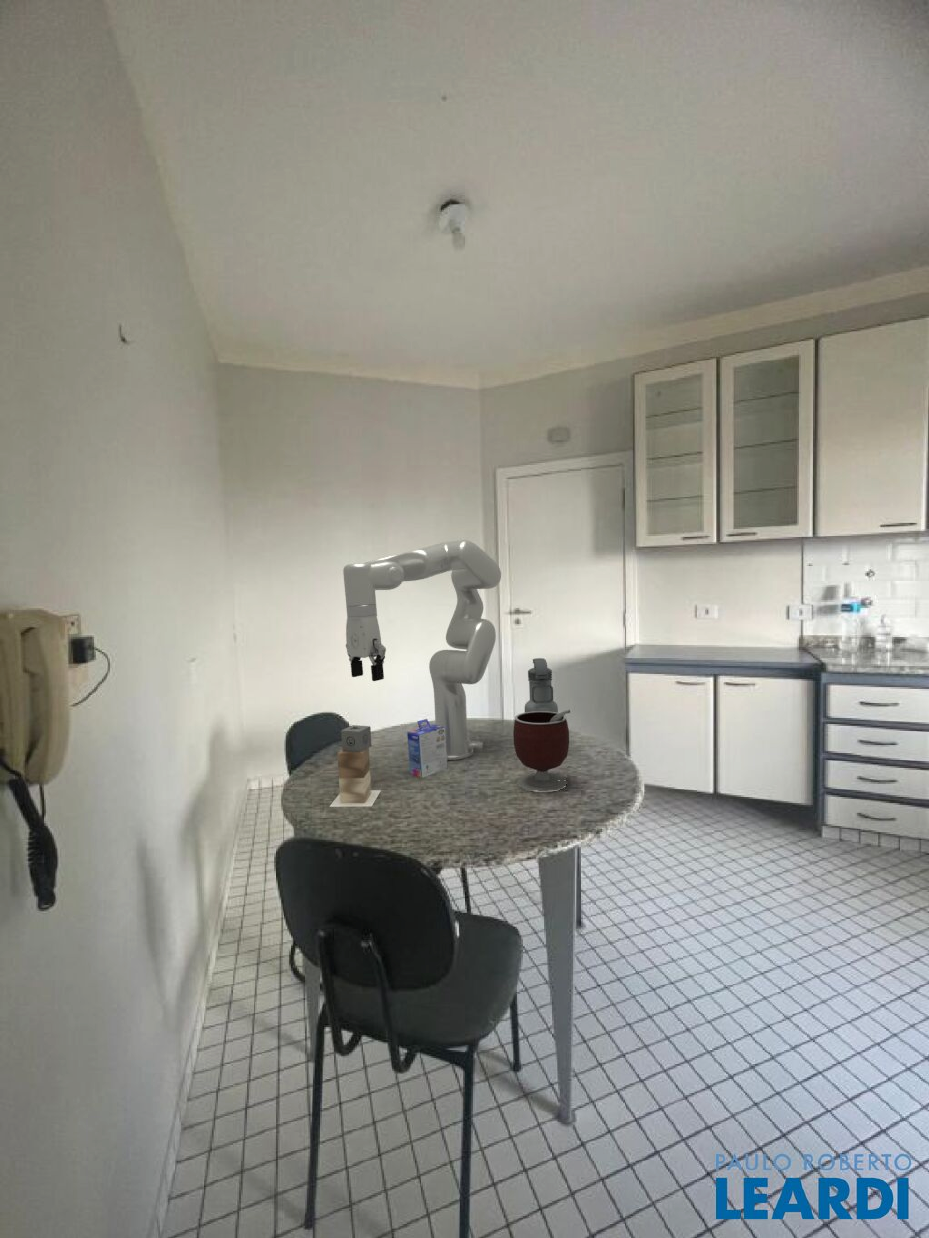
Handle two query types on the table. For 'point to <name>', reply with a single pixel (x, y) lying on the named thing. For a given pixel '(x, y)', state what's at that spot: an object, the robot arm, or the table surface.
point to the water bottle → (540, 688)
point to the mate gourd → (541, 747)
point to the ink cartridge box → (427, 749)
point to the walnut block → (353, 764)
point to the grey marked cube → (356, 738)
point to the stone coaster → (368, 803)
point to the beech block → (355, 789)
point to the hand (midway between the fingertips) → (367, 678)
